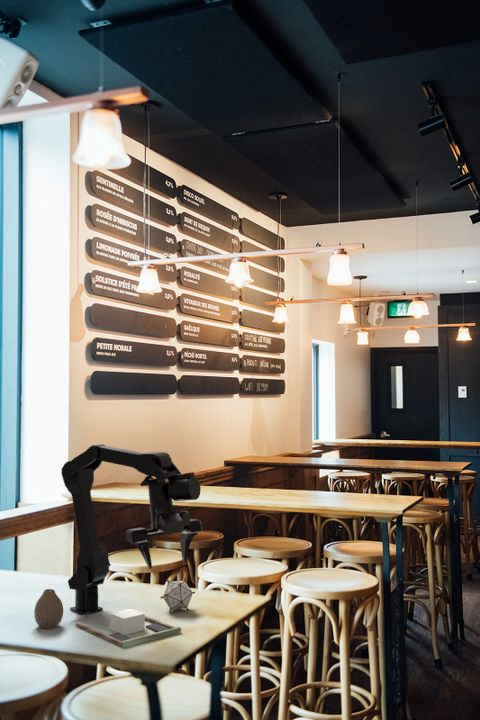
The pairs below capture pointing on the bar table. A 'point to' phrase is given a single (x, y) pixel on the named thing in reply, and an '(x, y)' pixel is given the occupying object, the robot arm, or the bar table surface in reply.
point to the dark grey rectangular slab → (153, 627)
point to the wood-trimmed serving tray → (136, 640)
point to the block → (127, 621)
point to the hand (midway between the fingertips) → (167, 565)
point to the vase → (48, 610)
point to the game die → (177, 595)
